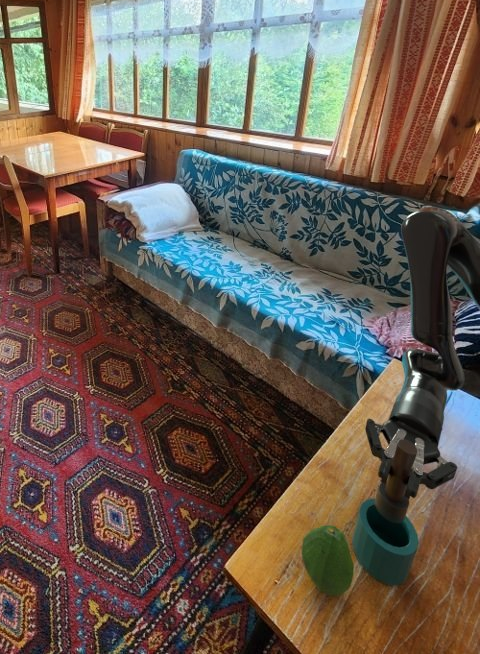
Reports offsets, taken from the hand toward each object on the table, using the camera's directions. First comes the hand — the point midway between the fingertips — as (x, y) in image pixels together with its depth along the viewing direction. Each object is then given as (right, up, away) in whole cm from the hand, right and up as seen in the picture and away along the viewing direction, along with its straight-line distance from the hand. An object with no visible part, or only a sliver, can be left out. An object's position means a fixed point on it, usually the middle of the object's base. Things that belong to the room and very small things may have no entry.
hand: (395, 486), depth 60 cm
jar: (+3, -19, +8) cm, 21 cm away
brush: (+3, -8, +5) cm, 10 cm away
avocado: (-9, -21, +6) cm, 24 cm away
